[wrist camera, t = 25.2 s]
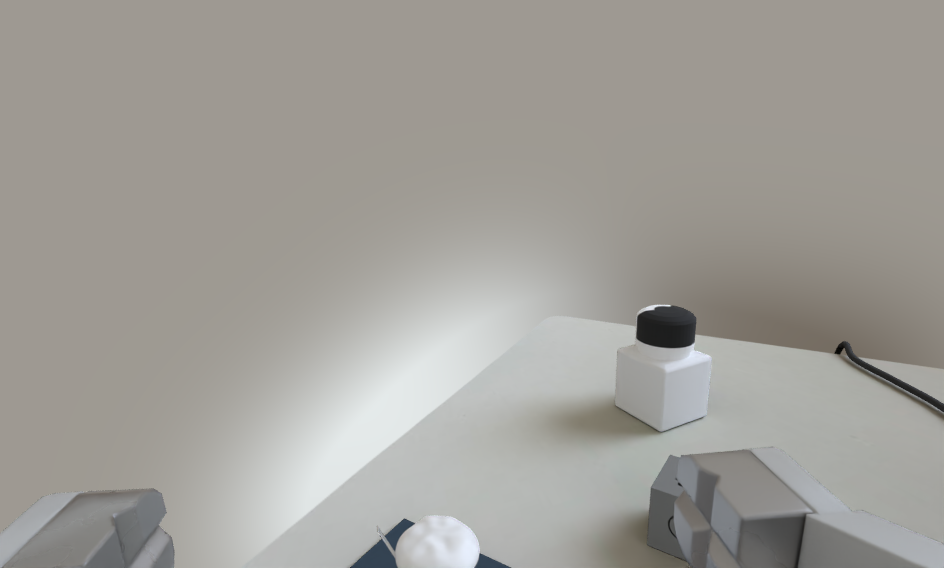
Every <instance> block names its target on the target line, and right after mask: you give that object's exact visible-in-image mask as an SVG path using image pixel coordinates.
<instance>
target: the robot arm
mask: <svg viewBox="0 0 944 568" xmlns="http://www.w3.org/2000/svg"><path fill="white" fill-rule="evenodd" d="M844 348H845V351H846V353H847V355H848V357H849V358H850V359H851V360H852V361H854V362H855V363H856V364H858V365H860V366H861V367H863V368H865V369H867V370H869V371H871V372H872V373H874V374H876V375H878V376H880V377H882V378H884V379H886V380H888V381H890V382H892V383H893V384H895V385H897V386H899V387H901V388H903V389H905V390H906V391H908V392H910V393H912V394H914V395H916V396H918V397H920V398H921V399H923V400H925V401H927V402H928V403H930V404H932V405H933V406H935V407H937V408H938V409H940V410H941V411H943V412H944V404H943V403H941V402H940V401H938V400H936V399H935V398H933V397H931V396H929V395H928V394H926V393H924V392H922V391H920V390H918V389H916V388H914V387H912V386H911V385H909V384H907V383H905V382H903V381H901V380H899V379H897V378H895V377H893V376H892V375H890V374H888V373H886V372H884V371H882V370H880V369H878V368H876V367H874V366H872V365H870V364H868V363H866V362H864V361H862V360H861V359H859V358H858V357H856V356H855V354H854V353H853V351H852V349H851V346H850V344H849V343H848V342H845V341H844V342H842V343H840V344H839V345H838V347H837V348H836V350H835V353H834V354H839V355H840V354H841V352H842V350H843V349H844ZM676 478H677V480H678V481H679V482H680V484H681V485H682V487H683V488H684V489H685V490H684V491H683V492H682V494H681V495H680V496H679V497H678V498H677V500H676V501H675V502H674V525H675V531H676V536H677V540H678V543H679V545H680V548H681V551H682V553H683V555H684V556H685V558H686V560H687V561H688V563H689V565H690V566H691V567H693V568H944V544H943V543H941V542H938V541H936V540H934V539H931V538H929V537H926V536H924V535H921V534H919V533H917V532H914V531H912V530H909V529H907V528H904V527H902V526H900V525H897V524H895V523H892V522H890V521H887V520H885V519H883V518H880V517H878V516H875V515H873V514H870V513H868V512H866V511H863V510H860V511H852V510H851V509H850V508H848V507H847V506H846V505H845V504H844V503H843V502H841V501H840V500H839V499H838V498H837V497H836V496H835V495H833V494H832V493H831V492H830V491H829V490H828V489H826V488H825V487H824V486H823V485H822V484H821V483H820V482H818V481H817V480H816V479H815V478H814V477H813V476H812V475H810V474H809V473H808V472H807V471H806V470H805V469H803V468H802V467H801V466H800V465H799V464H798V463H797V462H795V461H794V460H793V459H792V458H791V457H790V456H788V455H787V454H786V453H785V452H784V451H783V450H781V449H778V448H775V447H763V448H753V449H743V450H738V451H726V452H714V453H702V454H690V455H681V457H680V460H679V462H678V467H677V477H676ZM165 514H166V508H165V505H164V501H163V497H162V494H161V493H160V492H158V491H157V490H155V489H153V488H151V489H131V490H130V489H129V490H105V491H88V492H67V493H54V494H50V495H47V496H43V497H41V498H40V499H39V500H37V501H36V502H35V503H34V504H33V505H32V506H31V507H30V508H28V509H27V510H26V511H25V512H24V513H23V514H21V515H20V516H19V517H18V518H17V519H16V520H15V521H14V522H12V523H11V524H10V525H9V526H8V527H7V528H5V529H4V530H3V531H2V532H1V533H0V568H174V546H173V541H172V537H171V536H170V535H169V534H167V533H166V532H165V531H164V530H163V529H162V528H161V527H160V526H159V524H160V522H161V521H162V519H163V517H164V516H165Z"/></svg>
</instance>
